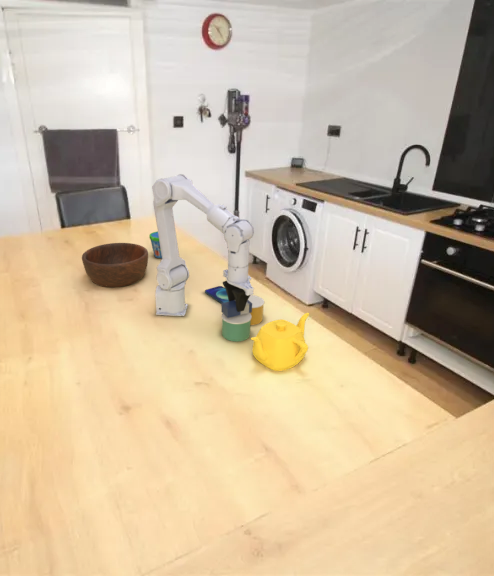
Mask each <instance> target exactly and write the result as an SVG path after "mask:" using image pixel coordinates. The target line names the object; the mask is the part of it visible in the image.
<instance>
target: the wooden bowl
mask: <svg viewBox="0 0 494 576" xmlns="http://www.w3.org/2000/svg"><path fill="white" fill-rule="evenodd" d="M81 260H82V264H83V269H84V271H85V273H86V275H87V277H88V278H89V280H90V281H91V282H93V283H94V284H95V285H97V286H100V287H103V288H104V287H105V288H121V287H122V288H123V287H127V286H130V285H134V284H136V283H138V282H139V281H141V279H142V278H143V277H144V276H145V274H146V271H147V268H148V264H149V263H148V262H149V251H148V249H147V248H146V247H145V246H143V245H141V244H137V243H131V242H112V243H105V244H100V245H97V246H93V247H91V248H89V249H87V250H85V251H84V252H83V254H82V255H81Z"/></svg>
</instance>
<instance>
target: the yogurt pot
mask: <svg viewBox="0 0 494 576" xmlns="http://www.w3.org/2000/svg"><path fill="white" fill-rule="evenodd" d="M221 313H222V312H221ZM250 323H251V314H250V313H247V314H243V315H238V316H234V317H230V318H227V317H226V316H225V315H224V314H223V313H222V314H221V335H222V338H224V339H225V340H227V341H229V342H237V343H238V342H244V341H246V340H248V339H249V338H250V336H251V325H250Z"/></svg>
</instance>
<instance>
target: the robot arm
mask: <svg viewBox="0 0 494 576" xmlns="http://www.w3.org/2000/svg"><path fill="white" fill-rule="evenodd" d="M151 189H152V194H153V195H152V196H153V203H152V205H153V211H154V216H155V217H154V218H155V223H156V230H157V231H158V236H159V242H160V248H161V254H162V258H161V260H160V262H159V263H158V265H157V267H156V271H157V272H156V273H157V274H156V282H157V284H158V285H156V287H155V295H154V296H155V297H154V298H155V311H156V313H155V315H156V316H167V317H168V316H170V317H185V316H186V313H187V310H188V307H189V306H188V303H186V291H185V289H186V288H185V286H186V284H187V281H188V280H189V278H190V271H189V268H188V267H187V264H186V263H187V262H186V260H185V259H184V258H182V257H180V251H179V246H178V245H179V244H178V238H177V231H176V225H175V217H174V211H173V207H174V206H175V205H176V204H177V203H178V201H187V202H188V203H190V204H191V205H193V206H194V207H195V208H197V209H198V210H200V211H201V212H203V213H204V214H205V215H206V220H207V222H209V223H210V224H211V225H212V226H213V227H215V228H216V229H217V230H218V231H219V232H221V233H222V235H223V238H224V240H225V242H226V245H227V252H228V253H227V269H223V270H222V277H223V278H225V279H226V280H223V281H222V286H223V287H224V288H225V289H226V292H227V296H228V300H229V301H233V300H235V301H236V309H237V312H240V311H244V309H245V306H246V303H247V301H248V298H249V297H250V295H254V289H255V288H254V287H253V286H252V284H251V282H250V281H251V280H252V277H251V275H249V264H250V263H249V259H250V240H251V239H252V238H253V237H254V234H255V228H254V226H253V224H252V223H251V221H250V220H248V219H246V218H240V217H239V216H237V215H235V214H234V213H232V212H231V211H230V210H229V209H228V208H227V206H226V205H225V204H221V203H216V204H214V203H213V202H212V201H211V200H210V199H209V198H208V196H205V194H203V193H202V192H201V191H200V190H199V189H198V188H197V187H196V186H195V185H194V183H193V180H192V179H191V178H188V176H186V175H185V174H182V173H179V174H176V175H173V176H168V177H164V178H163V177H162V178H158V179H157V180H156V181H155V182H154V183H153V185H152V187H151Z"/></svg>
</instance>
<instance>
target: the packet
mask: <svg viewBox="0 0 494 576" xmlns="http://www.w3.org/2000/svg"><path fill="white" fill-rule="evenodd" d="M220 309H221V311H220V312H221V313H223V314H224V315H225V316H226V317H227V318H230V317H234V316H238V315H243V314H247V313H251V312H252V303H251V302H250V301H249V300H248V301H247V303H246V306H245V309H244V311H240V312H237V309H236V301H235V300H233V301H228V302H224V303H222V304H221V308H220Z"/></svg>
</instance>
